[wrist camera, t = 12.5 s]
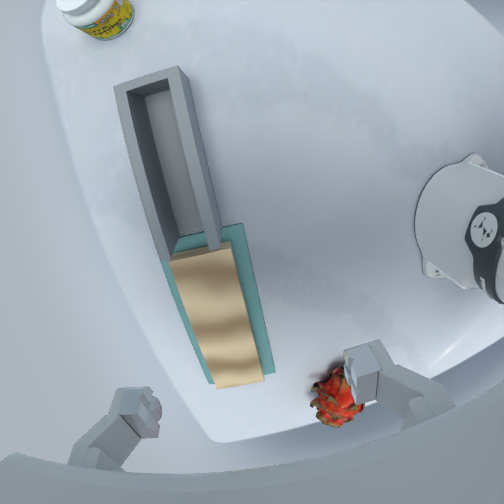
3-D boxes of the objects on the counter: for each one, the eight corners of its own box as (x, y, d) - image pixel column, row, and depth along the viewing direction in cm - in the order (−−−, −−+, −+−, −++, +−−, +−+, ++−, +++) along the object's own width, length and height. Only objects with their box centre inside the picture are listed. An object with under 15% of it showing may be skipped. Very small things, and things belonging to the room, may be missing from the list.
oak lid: (262, 367, 42) (264, 381, 39) (217, 375, 42) (217, 389, 39) (230, 238, 34) (230, 248, 31) (172, 251, 34) (168, 261, 31)
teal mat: (275, 370, 43) (275, 372, 42) (209, 382, 43) (209, 384, 42) (242, 222, 33) (242, 224, 33) (155, 242, 33) (154, 244, 33)
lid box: (221, 223, 33) (220, 248, 27) (172, 234, 33) (160, 261, 27) (188, 78, 27) (178, 65, 20) (136, 93, 27) (113, 86, 20)
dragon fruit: (320, 400, 49) (327, 345, 46) (365, 411, 45) (378, 356, 42) (300, 430, 42) (307, 375, 39) (350, 445, 38) (366, 389, 35)
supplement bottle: (130, -7, 22) (101, -43, 13) (139, 29, 24) (108, -2, 15) (86, 13, 22) (46, -14, 13) (93, 49, 24) (51, 28, 15)
